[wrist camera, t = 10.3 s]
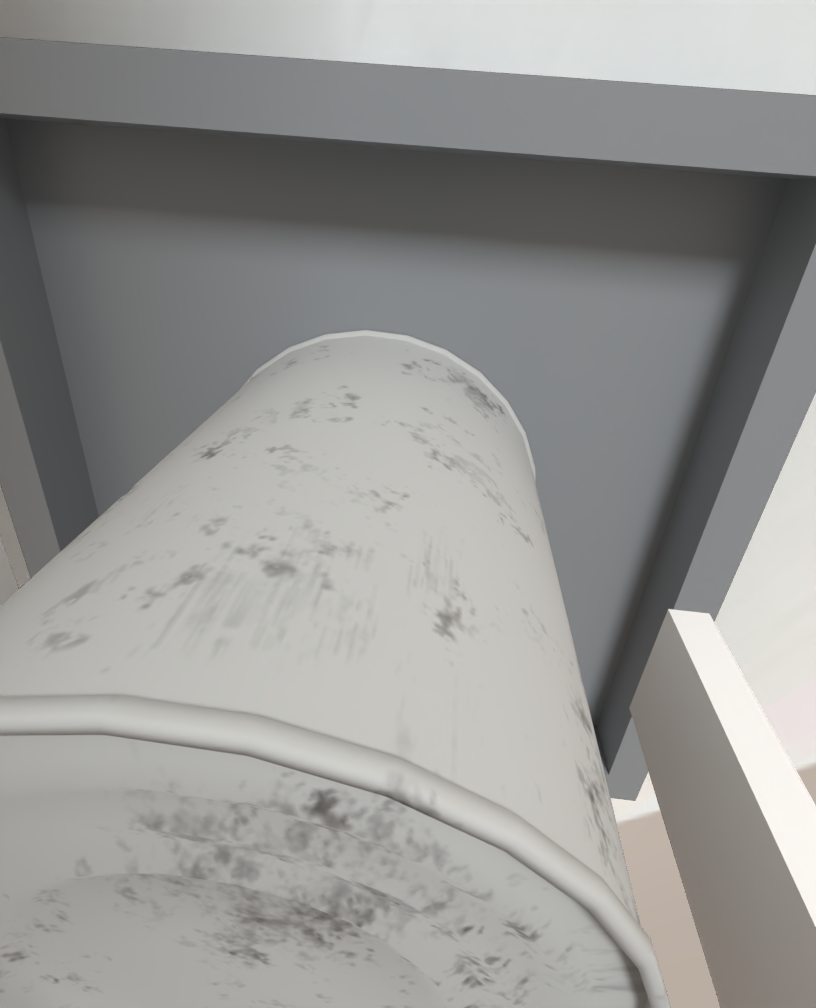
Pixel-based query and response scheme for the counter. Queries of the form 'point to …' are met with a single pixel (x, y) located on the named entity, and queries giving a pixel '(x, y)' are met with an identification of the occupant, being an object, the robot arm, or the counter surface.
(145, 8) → the counter surface
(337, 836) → the speckled white tin can
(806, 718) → the counter surface
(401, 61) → the counter surface
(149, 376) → the tray
